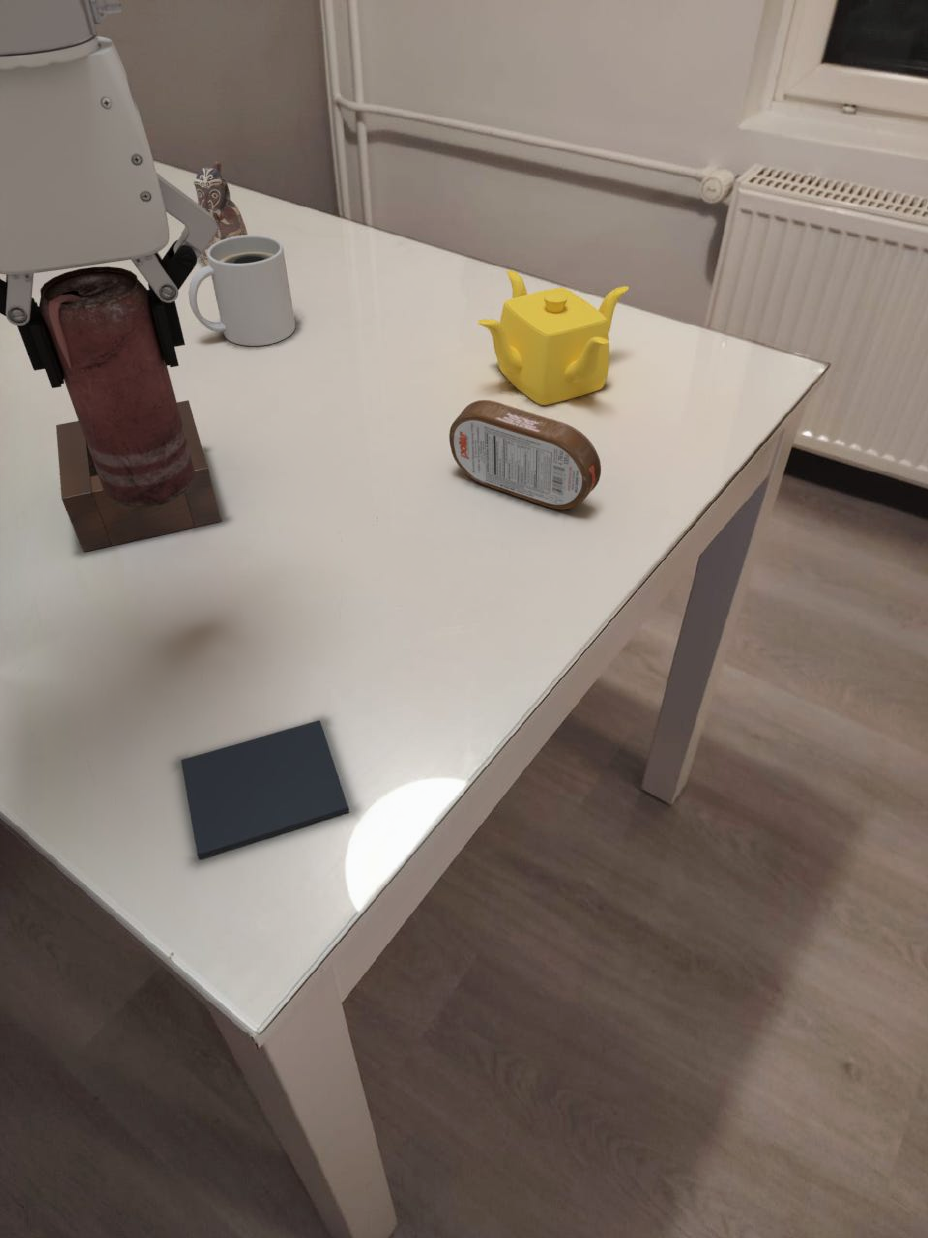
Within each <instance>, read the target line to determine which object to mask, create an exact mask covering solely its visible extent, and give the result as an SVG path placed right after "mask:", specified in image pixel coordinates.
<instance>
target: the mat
mask: <svg viewBox="0 0 928 1238" xmlns="http://www.w3.org/2000/svg"><path fill="white" fill-rule="evenodd" d="M180 764H181V769H182V774H183V779H184V786H185V791H186V792H185V793H186V797H187V803H188V809H189V814H190V820H191V826H192V831H193V832H192V833H193V837H194V843H195V848H196V854H197V856H198V859H199V860H202V859H205V858H208V857H210V856H214V855H217V854H220V853H224V852H227V851H230V850H234V849H236V848H241V847H242V846H247V845H249V844H252V843H255V842H259V841H262V840H265V839H268V838H271V837H274V836H278V835H280V834H283V833H287V832H289V831H293V830H296V829H300V828H303V827H306V826H309V825H313V824H315V823H319V822H322V821H324V820H329V819H332V818H334V817H338V816H340V815H343V814H347V813H349V812H350V809H349V806H348V805H349V804H348V801H347V799H346V796H345V793H344V790H343V786H342V784H341V780H340V778H339V775H338V772H337V769H336V768H337V767H336V766H335V763H334V759H333V757H332V753H331V751H330V747H329V744H328V742H327V738H326V735H325V732H324V729H323V726H322V723H321V720H319V719H318V720H315V721H312V722H308V723H304V724H301V725H298V726H293V727H290V728H287V729H284V730H281V731H277V732H273V733H269V734H266V735H263V736H259V737H255V738H252V739H248V740H245V741H242V742H239V743H236V744H231V745H228V746H225V747H221V748H218V749H214V750H211V751H207V752H204V753H201V754H197V755H193V756H190V757H187V758H186V757H185V758H183V759H181V760H180Z"/></svg>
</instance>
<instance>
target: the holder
mask: <svg viewBox="0 0 928 1238" xmlns="http://www.w3.org/2000/svg"><path fill="white" fill-rule="evenodd" d="M176 402H177V406H178V409H179V413H180V417H181V421H182V425H183V428H184V432H185V436H186V440H187V444H188V447H189V451H190V455H191V459H192V463H193V466H194V470H195V472H194V476H193V479H192V481H191V484H190V486H189V487H188V488H187V490H186V491H185V492H184V493H183V494H182V495H180V496H179V497H177V498H176V499H174V500H172V501H169V502H167V503H164V504H162V505H157V506H152V507H140V508H135V507H130V506H124V505H122V504H120V503H118V502H116V501H115V500H113V499H112V498H110V497H109V496H108V495H107V494H106V493H105V491H104V490H103V487H102V485H101V482H100V479H99V476H98V473H97V471H96V468H95V465H94V462H93V460H92V457H91V454H90V451H89V448H88V446H87V443H86V440H85V437H84V434H83V432H82V429H81V426H80V423H79V420H76V421H71V422H65V423H59V424H55V429H56V443H57V457H58V458H57V459H58V469H59V470H58V471H59V484H60V497H61V498H60V499H61V501H62V503H63V506H64V508H65V511H66V513H67V516H68V518H69V520H70V523H71V526H72V528H73V531H74V533H75V535H76V537H77V540H78V542H79V545H80V547H81V550H82V552H83V553H86V552H90V551H95V550H100V549H104V548H108V547H112V546H118V545H122V544H126V543H131V542H135V541H141V540H144V539H150V538H153V537H158V536H162V535H168V534H172V533H176V532H180V531H184V530H185V531H186V530H189V529H193V528H198V527H202V526H203V527H204V526H207V525H212V524H217V523H220V522H222V516H221V512H220V508H219V505H218V501H217V497H216V493H215V490H214V485H213V481H212V478H211V473H210V469H209V466H208V462H207V458H206V456H205V455H206V454H205V452H204V449H203V445H202V442H201V437H200V434H199V431H198V427H197V425H196V421H195V418H194V414H193V411H192V407H191V403H190V400H188V399H187V400H182V401H176Z"/></svg>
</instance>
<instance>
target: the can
mask: <svg viewBox="0 0 928 1238" xmlns="http://www.w3.org/2000/svg"><path fill="white" fill-rule="evenodd" d="M147 290H148V288H146V286H145V285H144V284H143V283H142V282H141V281H140V279H139V278H138V275H137V274H136V273H134V272H133V271H132V270H129V269H126V268H123V267H117V266H88V267H84V268H83V267H81V268H77V269H74V270H70V271H67V272H63V273H61V274H59V275H56V276H54V277H52V278H51V279H49V280H48V281H46V282H45V283H43V285H42V286H41V288H40V298H39V299H40V300H39V305H38V306H39V309H40V314H41V317H42V318H43V321H44V324H45V326H46V329H47V332H48V335H49V338H50V341H51V343H52V346H53V349H54V352H55V355H56V358H57V360H58V363H59V366H60V369H61V372H62V375H63V378H64V385H65V387H66V390H67V393H68V395H69V398H70V401H71V404H72V406H73V409H74V412H75V414H76V415H75V416H76V417H77V421H79V423H80V426H81V429H82V432H83V434H84V437H85V440H86V443H87V446H88V448H89V451H90V454H91V457H92V460H93V462H94V465H95V468H96V471H97V473H98V476H99V479H100V482H101V485H102V487H103V490H104V491H105V493H106V494H107V495H108V496H109V497H110V498H112V499H113V500H115V501H116V502H118V503H120V504H122V505H124V506H130V507H135V508H140V507H152V506H157V505H162V504H164V503H167V502H169V501H172V500H174V499H176V498H177V497H179V496H180V495H182V494H183V493H184V492H185V491H186V490H187V488H188V487H189V486H190V484H191V481H192V479H193V476H194V472H195V470H194V466H193V463H192V459H191V455H190V451H189V447H188V444H187V440H186V436H185V432H184V428H183V425H182V421H181V417H180V413H179V409H178V406H177V402H178V401H177V399H176V394H175V391H174V387H173V384H172V383H173V382H172V379H171V376H170V372H169V368H168V366H166V362H165V359H164V355H163V351H162V347H161V344H160V340H159V336H158V332H157V328H156V324H155V320H154V317H153V313H152V309H151V305H150V299H149V296H148V292H147Z"/></svg>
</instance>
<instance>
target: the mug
mask: <svg viewBox="0 0 928 1238" xmlns="http://www.w3.org/2000/svg"><path fill="white" fill-rule="evenodd" d="M207 258H208V263H209V265H205V266H203V267H200V268H199V269H198V270H197V271H196V272H195V273H194V274H193V276H192V278H191V281H190V282H189V286H188V287H189V288H188V302H189V305H190V308H191V311H192V313H193V315H194V316H195V318H196V319H197V320H198V321H199V323H200V324H201V325H202V326H204V327H205V328H206V329H207V330H210V331H212V332H223V335H224V337H225V338H226V339H227V340H228V341H229V342H231V343H233V344H236V345H240V346H245V347H261V346H268V345H272V344H276V343H279V342H281V341H283V340H285V339H287V338H288V337H290V336H291V335H292V334H293V333H294V331H295V329H296V319H295V315H294V314H295V313H294V309H293V302H292V295H291V287H290V281H289V276H288V269H287V268H288V267H287V262H286V255H285V249H284V245H283V243H282V242H281V241H280V240H278V239H277V238H274V237H271V236H267V235H260V234H248V235H242V236H235V237H230V238H227V239H224V240H221V241H218V242H216V243H215V244H213V245H212V246H210V248H209V249H208V251H207ZM208 277H211V281H212V285H213V290H214V296H215V301H216V304H217V309H218V314H219V319H220V321H218V322H215V321H210V320H208V319H206V318H205V317H204V316H203V315H202V313H201V311H200V309H199V305H198V292H199V288H200V286H201V284H202V282H204V280H205V279H206V278H208Z"/></svg>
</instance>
